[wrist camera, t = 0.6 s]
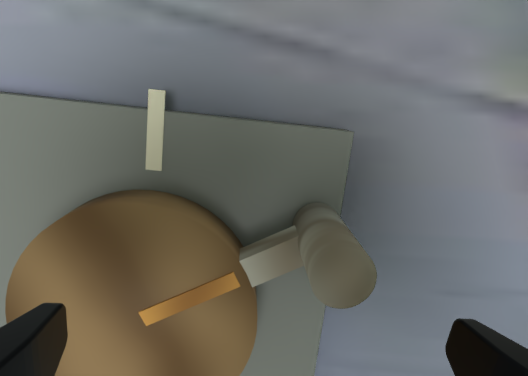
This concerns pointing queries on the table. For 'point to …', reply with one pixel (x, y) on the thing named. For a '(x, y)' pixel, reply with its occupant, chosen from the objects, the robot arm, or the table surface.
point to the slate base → (177, 189)
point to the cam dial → (174, 282)
